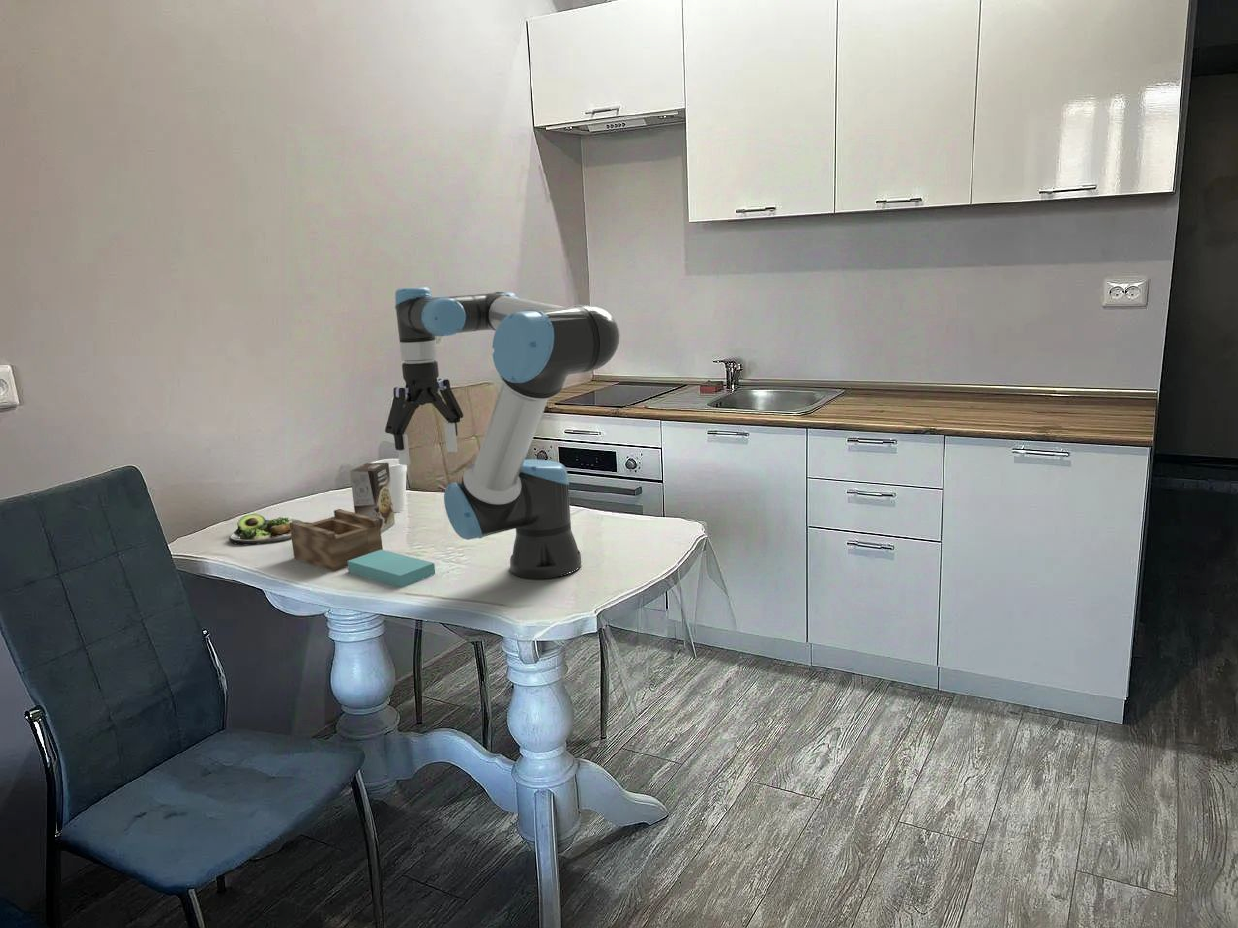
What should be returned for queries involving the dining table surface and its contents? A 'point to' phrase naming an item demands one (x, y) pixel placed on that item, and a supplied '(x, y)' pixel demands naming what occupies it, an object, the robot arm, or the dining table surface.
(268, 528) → the salad plate
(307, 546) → the walnut box
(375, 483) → the coffee box
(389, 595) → the dining table surface
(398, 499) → the foam cup
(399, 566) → the lid
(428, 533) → the dining table surface
